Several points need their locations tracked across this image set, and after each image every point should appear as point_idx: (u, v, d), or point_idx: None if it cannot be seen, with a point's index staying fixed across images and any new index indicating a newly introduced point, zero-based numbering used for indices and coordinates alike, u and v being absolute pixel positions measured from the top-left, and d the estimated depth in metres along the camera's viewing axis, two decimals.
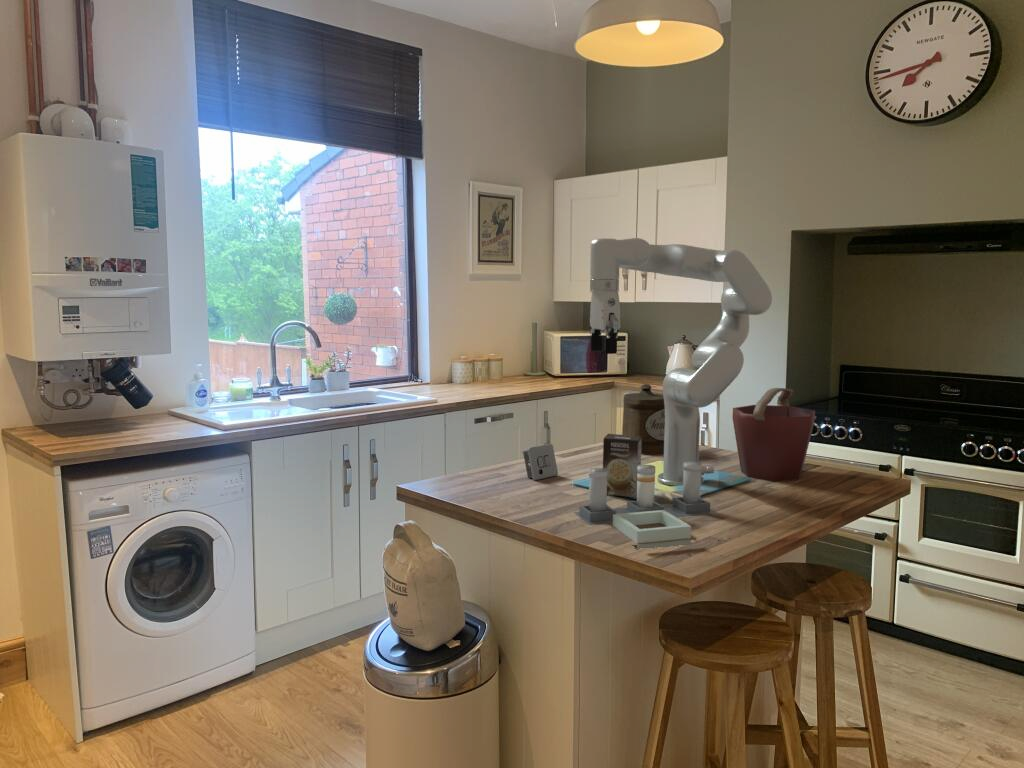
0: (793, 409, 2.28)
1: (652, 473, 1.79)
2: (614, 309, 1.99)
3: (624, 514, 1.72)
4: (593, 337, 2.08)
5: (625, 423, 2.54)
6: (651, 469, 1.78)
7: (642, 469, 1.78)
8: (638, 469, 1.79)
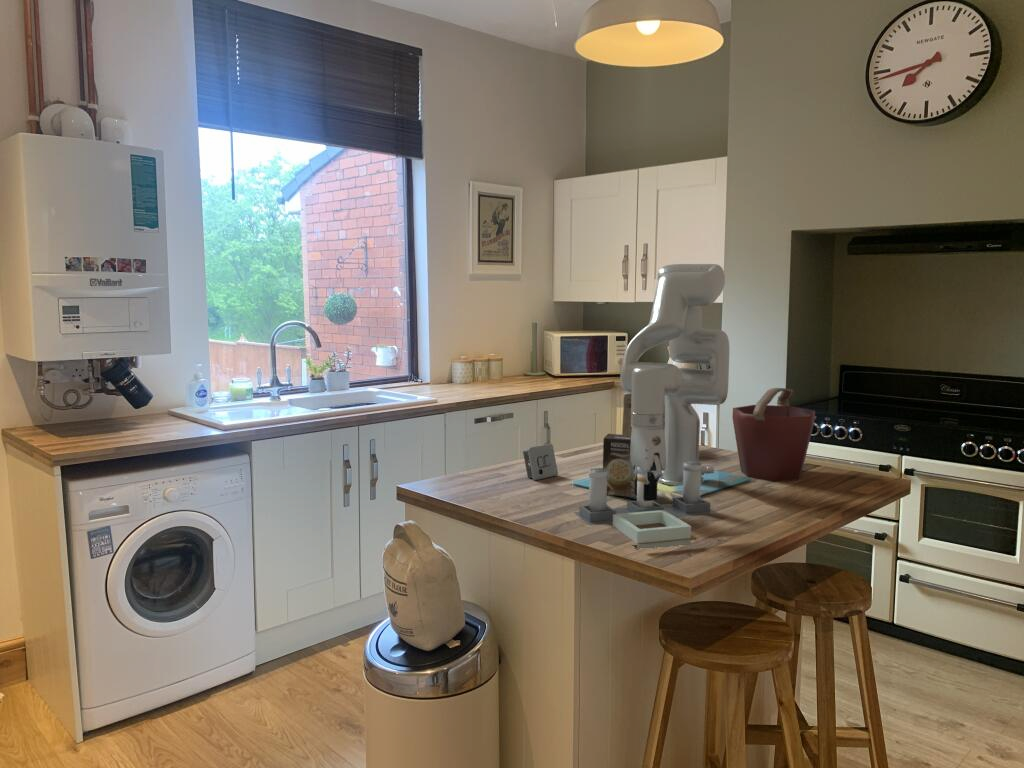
0: (793, 409, 2.28)
1: (652, 473, 1.79)
2: (660, 449, 1.75)
3: (624, 514, 1.72)
4: None
5: (625, 423, 2.54)
6: (651, 469, 1.78)
7: (642, 469, 1.78)
8: (638, 469, 1.79)
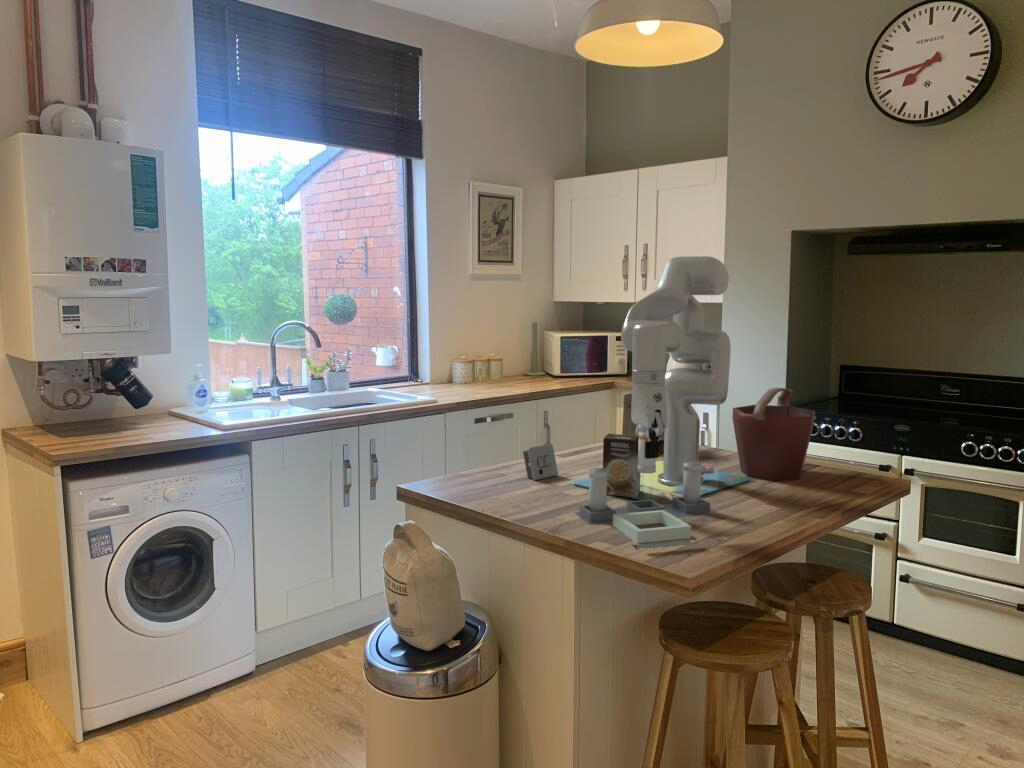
0: (793, 409, 2.28)
1: None
2: (661, 405, 1.74)
3: (624, 514, 1.72)
4: None
5: (625, 423, 2.54)
6: (652, 427, 1.77)
7: (643, 427, 1.77)
8: (639, 427, 1.78)
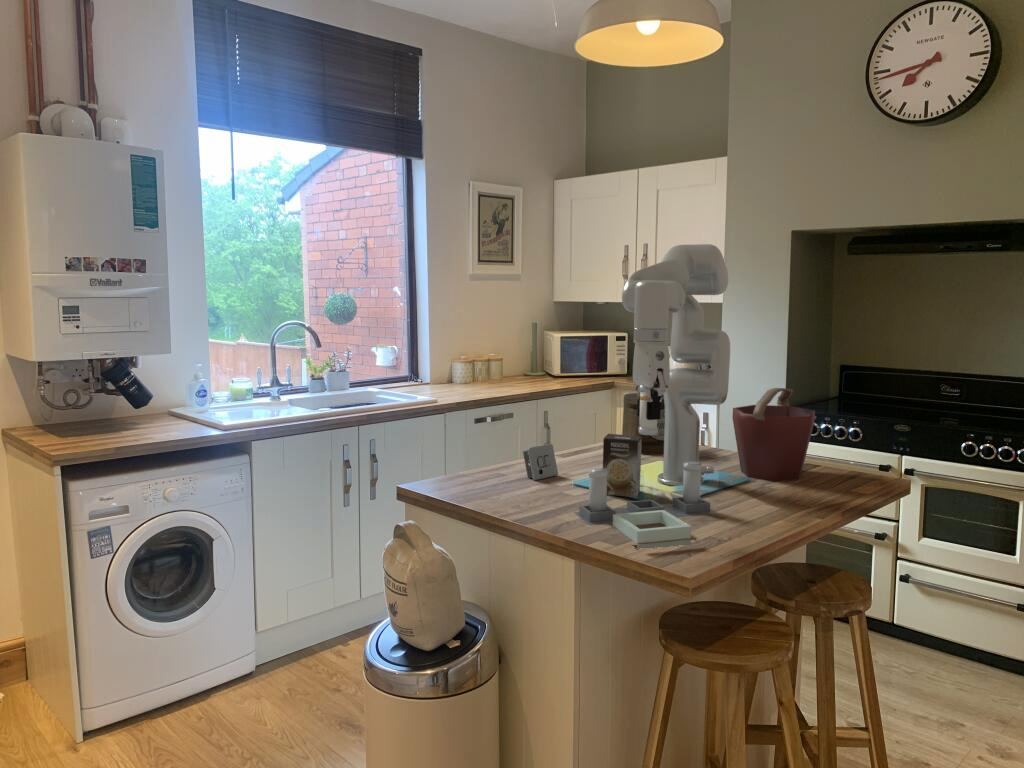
0: (793, 409, 2.28)
1: None
2: (663, 364, 1.69)
3: (624, 514, 1.72)
4: None
5: (625, 423, 2.54)
6: (654, 387, 1.73)
7: (645, 387, 1.73)
8: (641, 387, 1.74)
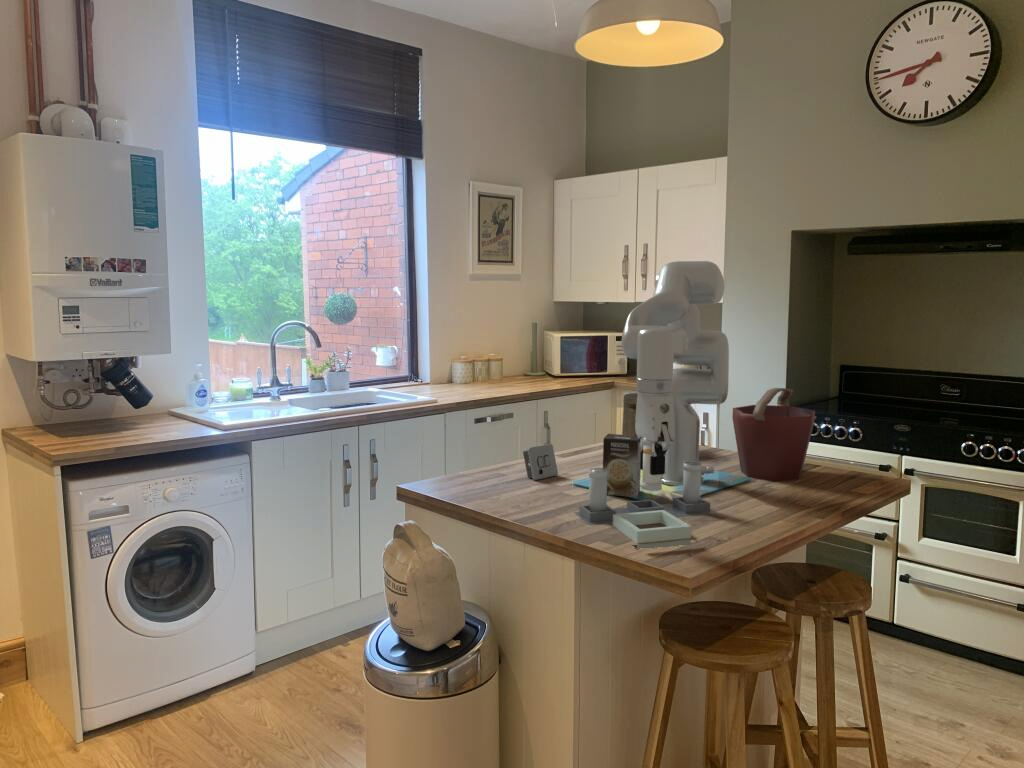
0: (793, 409, 2.28)
1: (659, 444, 1.63)
2: (668, 417, 1.60)
3: (624, 514, 1.72)
4: None
5: (625, 423, 2.54)
6: (658, 440, 1.63)
7: (648, 440, 1.63)
8: (644, 440, 1.64)
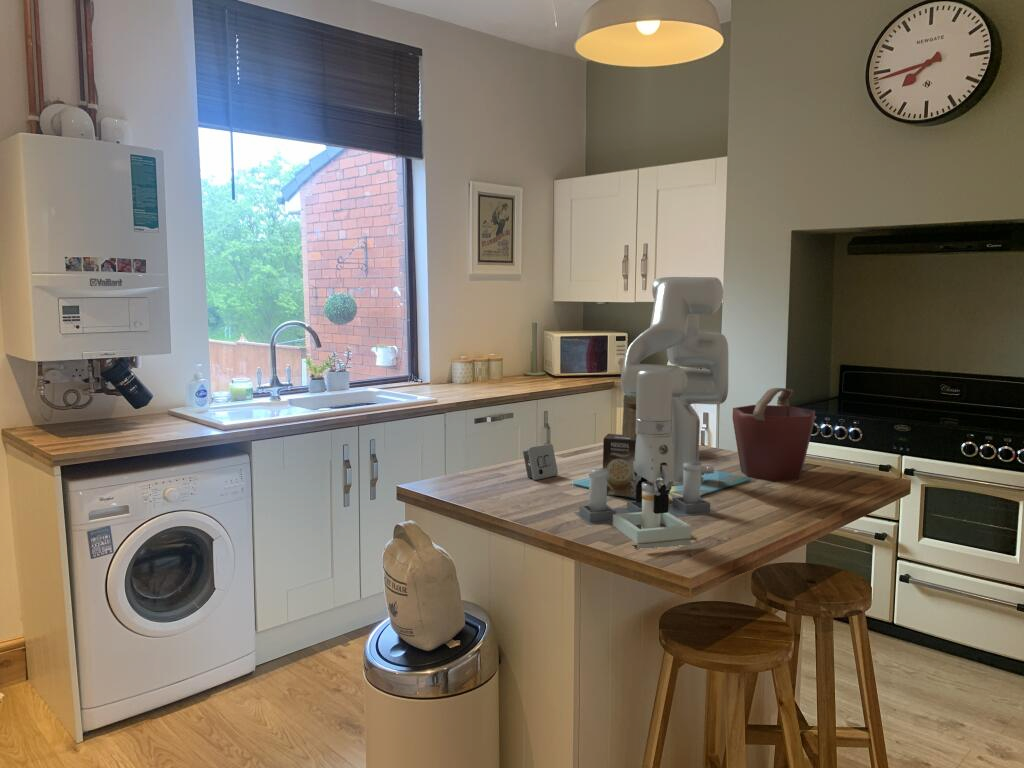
0: (793, 409, 2.28)
1: None
2: (667, 458, 1.61)
3: (624, 514, 1.72)
4: (639, 486, 1.70)
5: (625, 423, 2.54)
6: None
7: (647, 486, 1.65)
8: (643, 486, 1.66)
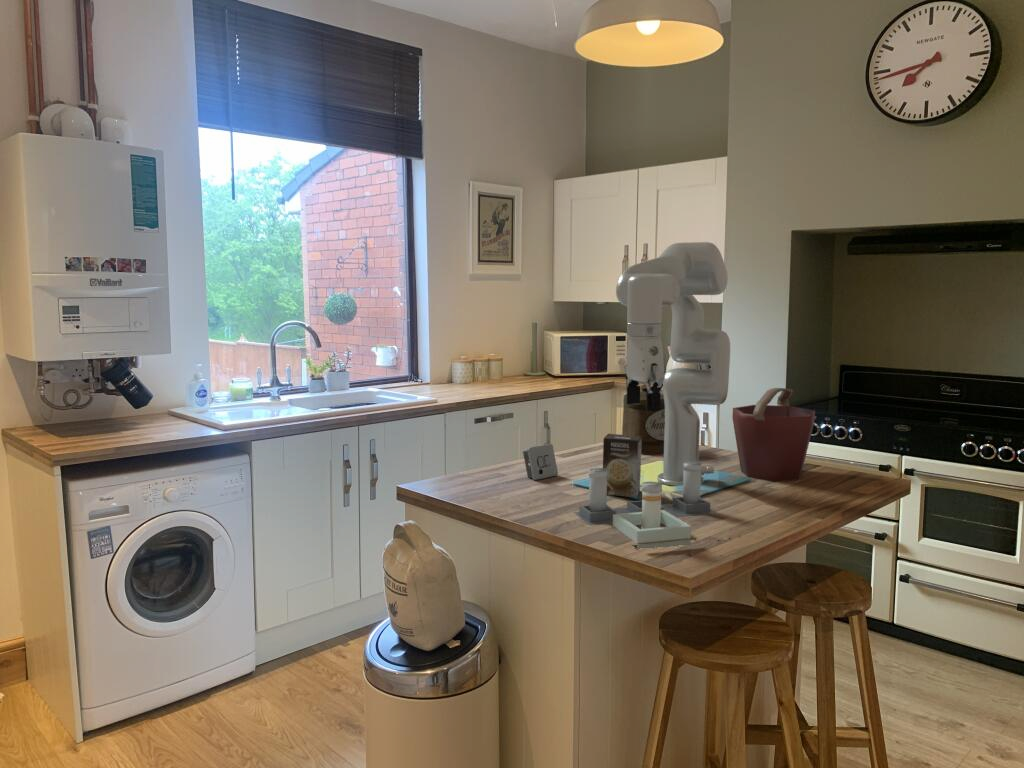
0: (793, 409, 2.28)
1: (658, 491, 1.65)
2: (657, 359, 1.69)
3: (624, 514, 1.72)
4: (630, 388, 1.78)
5: (625, 423, 2.54)
6: (657, 487, 1.65)
7: (647, 487, 1.65)
8: (643, 487, 1.66)
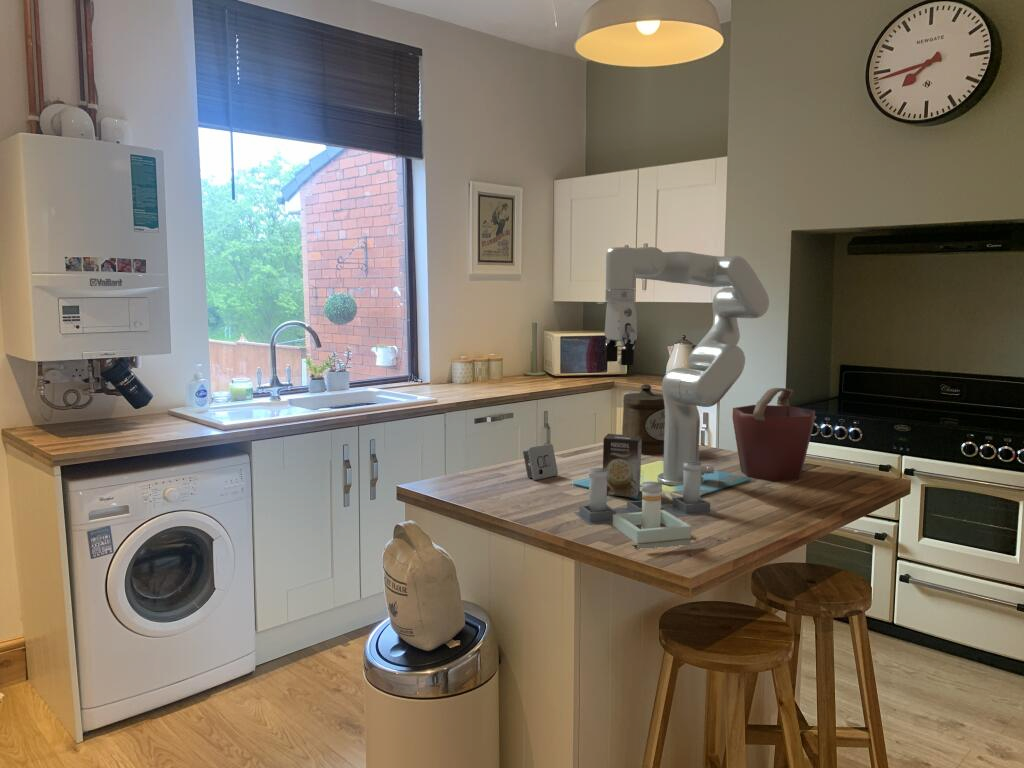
0: (793, 409, 2.28)
1: (658, 491, 1.65)
2: (631, 319, 1.94)
3: (624, 514, 1.72)
4: (608, 348, 2.04)
5: (625, 423, 2.54)
6: (657, 487, 1.65)
7: (648, 487, 1.65)
8: (643, 487, 1.66)
